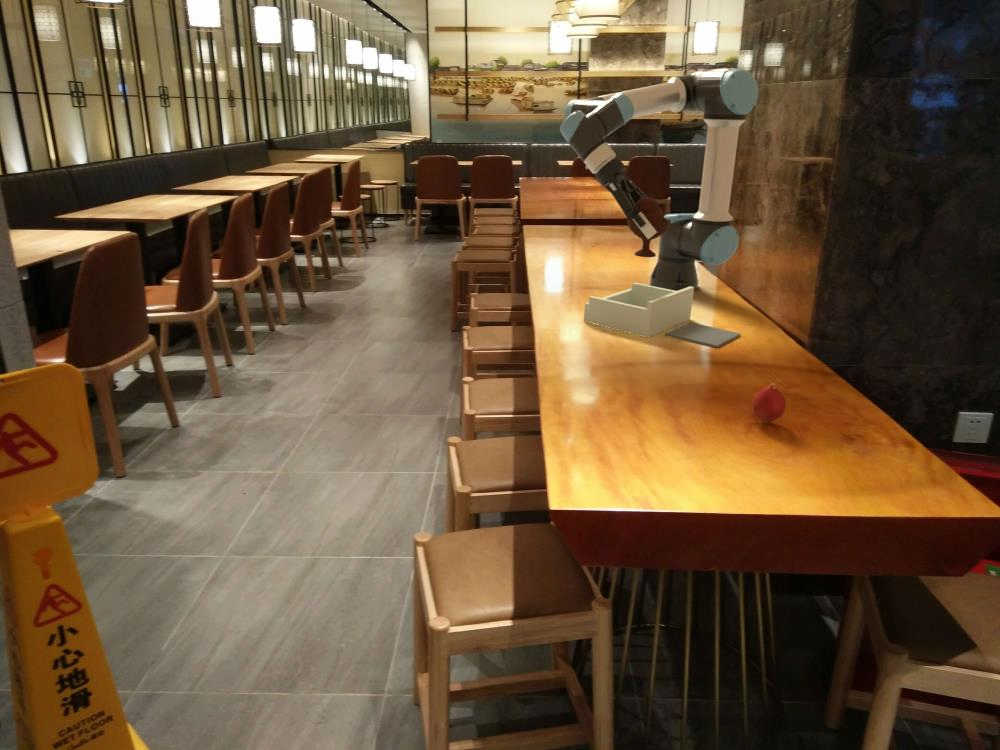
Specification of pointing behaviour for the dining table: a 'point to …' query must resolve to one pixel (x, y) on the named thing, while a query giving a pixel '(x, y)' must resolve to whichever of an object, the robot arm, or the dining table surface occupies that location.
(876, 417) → the dining table surface
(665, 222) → the ice cream bowl
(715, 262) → the robot arm
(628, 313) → the drawer
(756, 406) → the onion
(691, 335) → the slate mat
